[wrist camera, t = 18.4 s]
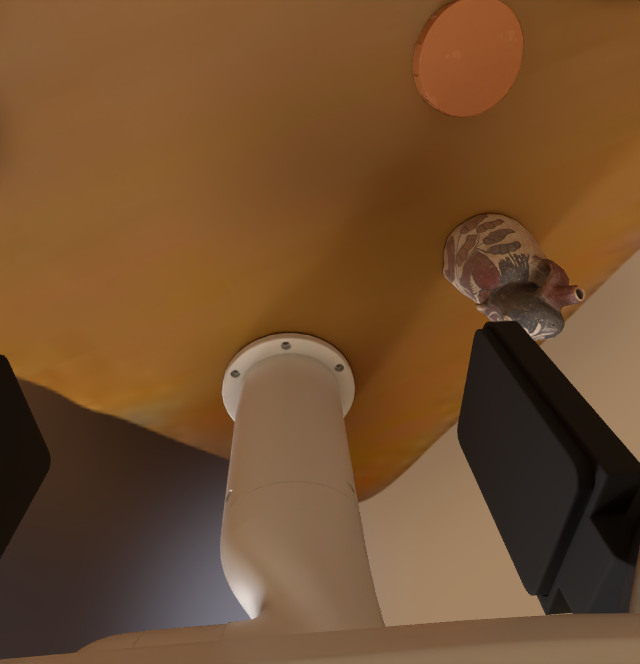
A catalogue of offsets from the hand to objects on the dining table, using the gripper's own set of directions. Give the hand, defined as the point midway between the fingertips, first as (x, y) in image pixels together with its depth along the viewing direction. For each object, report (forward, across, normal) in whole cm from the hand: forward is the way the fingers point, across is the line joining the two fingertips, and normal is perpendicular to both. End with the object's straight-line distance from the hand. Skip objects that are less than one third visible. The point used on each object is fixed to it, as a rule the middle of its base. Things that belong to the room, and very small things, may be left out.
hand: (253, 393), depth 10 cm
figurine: (+28, -17, +9) cm, 34 cm away
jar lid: (+27, -13, -5) cm, 30 cm away
